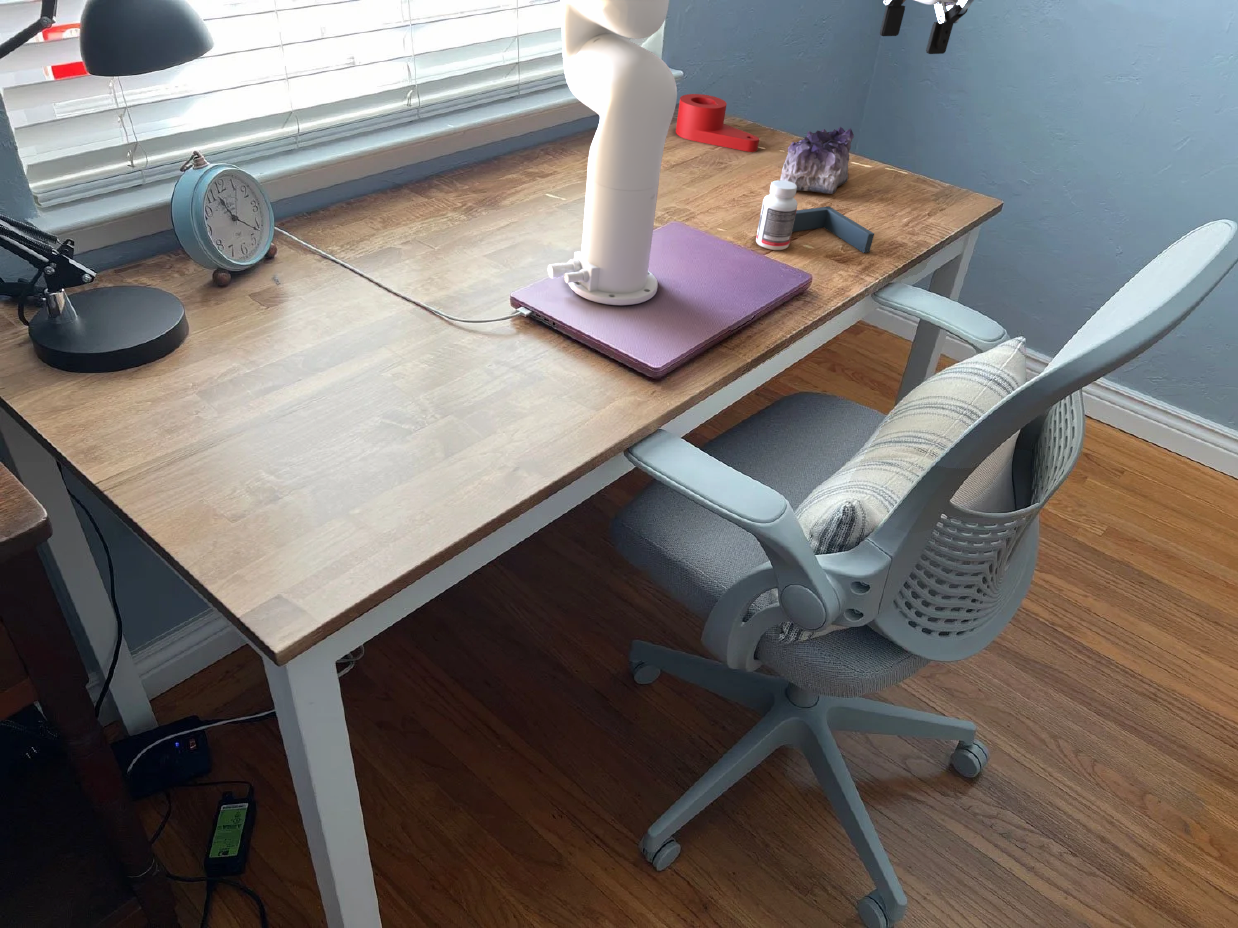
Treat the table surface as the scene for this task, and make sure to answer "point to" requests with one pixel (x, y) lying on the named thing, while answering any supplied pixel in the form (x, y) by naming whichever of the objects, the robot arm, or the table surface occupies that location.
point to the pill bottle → (777, 216)
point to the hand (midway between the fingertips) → (911, 44)
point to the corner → (834, 226)
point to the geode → (819, 161)
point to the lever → (710, 123)
